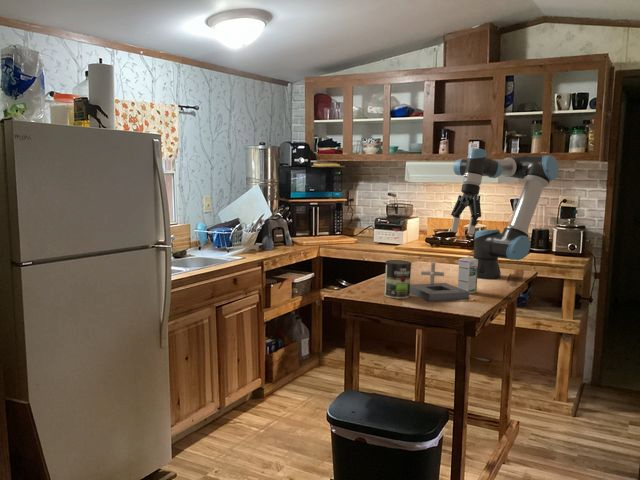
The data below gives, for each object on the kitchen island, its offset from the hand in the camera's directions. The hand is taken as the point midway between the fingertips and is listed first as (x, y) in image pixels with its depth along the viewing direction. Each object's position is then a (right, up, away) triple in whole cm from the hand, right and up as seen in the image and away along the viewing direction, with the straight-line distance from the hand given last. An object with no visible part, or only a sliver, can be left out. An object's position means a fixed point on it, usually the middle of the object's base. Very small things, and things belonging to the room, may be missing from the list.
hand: (462, 232), depth 238 cm
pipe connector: (-11, -23, +10) cm, 28 cm away
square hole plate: (-13, -26, -11) cm, 31 cm away
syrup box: (+1, -26, -3) cm, 26 cm away
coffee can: (-30, -26, -14) cm, 42 cm away
